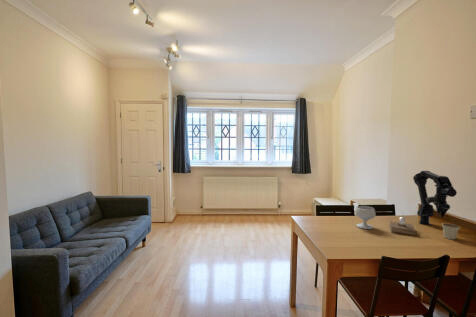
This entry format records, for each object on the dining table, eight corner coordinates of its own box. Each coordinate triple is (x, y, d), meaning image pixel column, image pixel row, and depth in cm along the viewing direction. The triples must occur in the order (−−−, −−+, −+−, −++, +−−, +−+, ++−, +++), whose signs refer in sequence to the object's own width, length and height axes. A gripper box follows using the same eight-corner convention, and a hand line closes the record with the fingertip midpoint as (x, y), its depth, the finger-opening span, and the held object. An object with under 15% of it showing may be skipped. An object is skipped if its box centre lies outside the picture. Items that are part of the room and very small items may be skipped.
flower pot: (454, 235, 167) (454, 223, 166) (462, 241, 157) (463, 228, 157) (438, 234, 169) (438, 222, 168) (445, 239, 160) (446, 227, 159)
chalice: (370, 223, 192) (370, 205, 191) (378, 230, 178) (379, 210, 177) (352, 223, 194) (352, 205, 193) (359, 229, 180) (359, 210, 179)
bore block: (389, 226, 186) (389, 221, 186) (411, 229, 180) (412, 224, 179) (391, 232, 174) (391, 227, 174) (415, 235, 167) (415, 230, 167)
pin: (399, 228, 179) (399, 216, 178) (404, 229, 177) (404, 217, 177) (399, 229, 176) (400, 217, 175) (404, 230, 174) (405, 218, 174)
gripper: (424, 190, 185) (423, 210, 186) (430, 195, 169) (429, 217, 170) (443, 191, 180) (442, 212, 181) (450, 196, 164) (449, 219, 165)
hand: (440, 215), depth 174 cm, fingers open, 9 cm apart
